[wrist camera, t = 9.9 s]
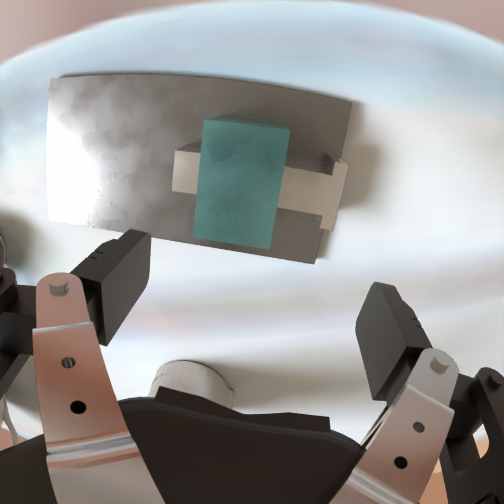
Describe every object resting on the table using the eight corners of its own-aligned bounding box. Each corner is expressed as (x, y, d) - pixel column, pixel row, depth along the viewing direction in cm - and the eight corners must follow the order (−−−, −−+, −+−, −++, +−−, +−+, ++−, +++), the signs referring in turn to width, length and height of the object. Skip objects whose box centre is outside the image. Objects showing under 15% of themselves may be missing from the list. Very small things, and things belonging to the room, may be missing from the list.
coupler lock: (286, 124, 23) (290, 131, 17) (269, 224, 27) (267, 257, 21) (220, 115, 23) (204, 119, 17) (209, 214, 26) (192, 245, 21)
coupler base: (348, 102, 23) (362, 102, 19) (312, 259, 29) (317, 282, 25) (56, 78, 22) (30, 79, 19) (55, 216, 29) (33, 231, 25)
